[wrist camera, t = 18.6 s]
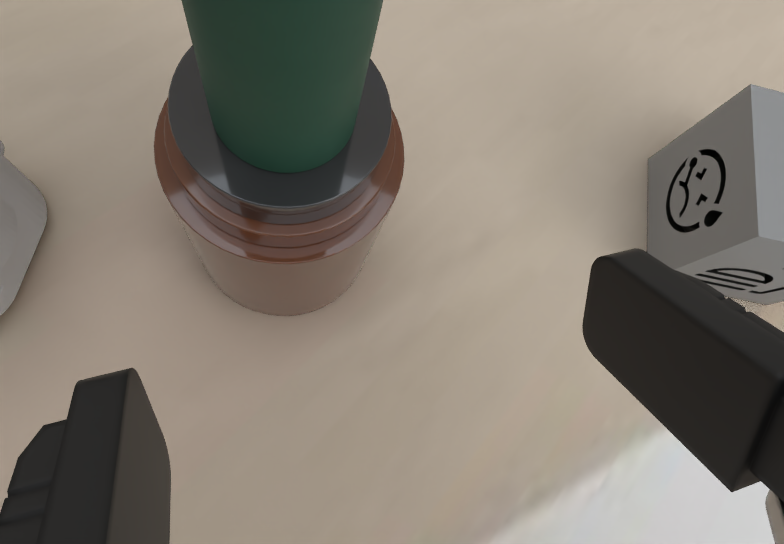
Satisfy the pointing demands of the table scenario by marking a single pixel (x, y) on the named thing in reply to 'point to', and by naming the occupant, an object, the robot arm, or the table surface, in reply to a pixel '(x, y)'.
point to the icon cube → (724, 198)
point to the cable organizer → (17, 227)
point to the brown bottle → (278, 201)
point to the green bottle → (283, 75)
